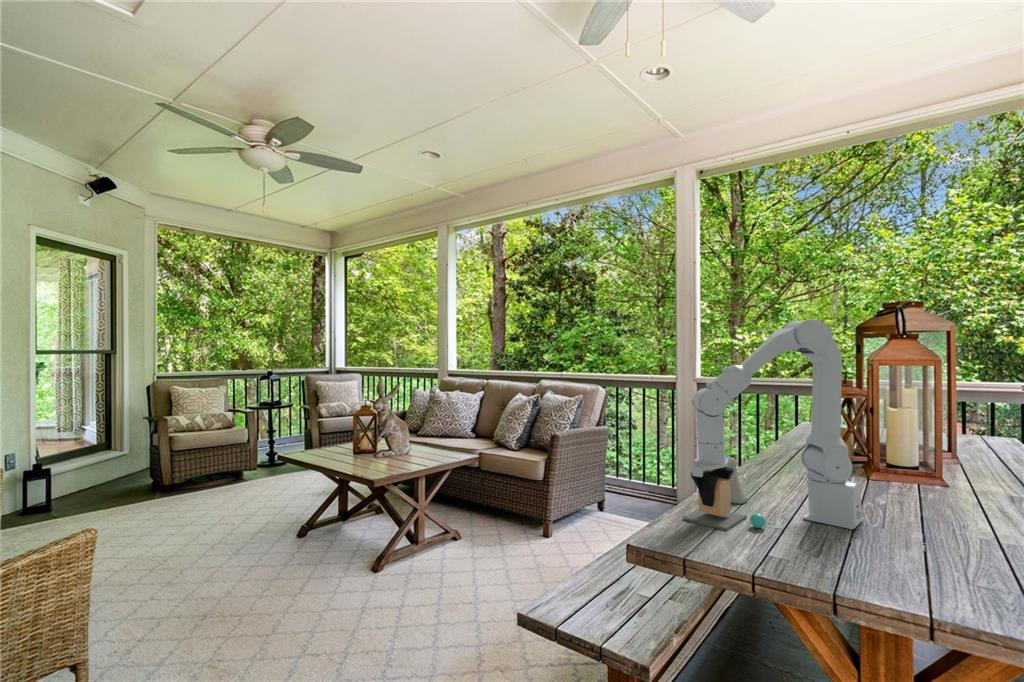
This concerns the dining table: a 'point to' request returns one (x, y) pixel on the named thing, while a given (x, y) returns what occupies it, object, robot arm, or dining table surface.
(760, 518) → the ball
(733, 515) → the mat
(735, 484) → the flask
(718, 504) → the light orange block
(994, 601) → the dining table surface
